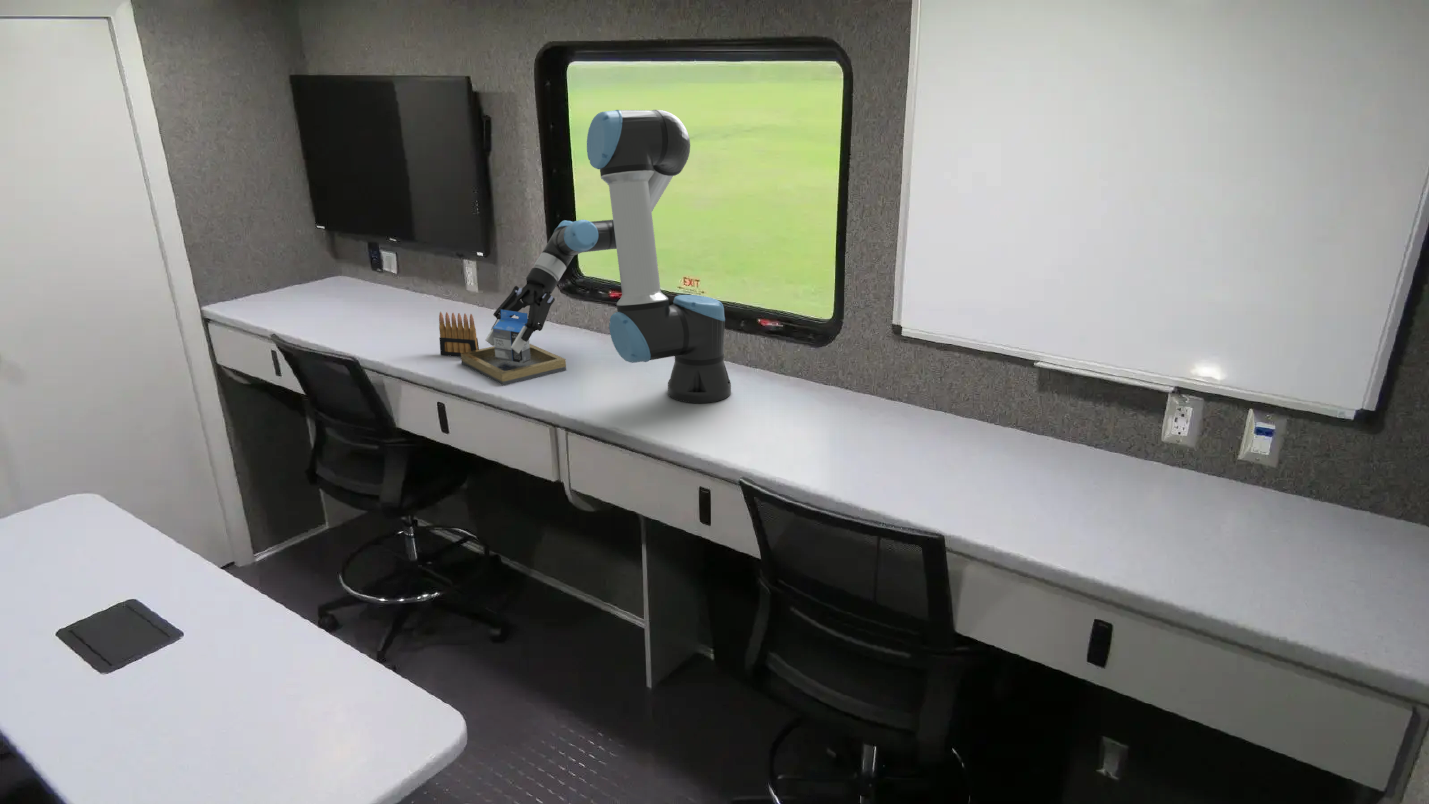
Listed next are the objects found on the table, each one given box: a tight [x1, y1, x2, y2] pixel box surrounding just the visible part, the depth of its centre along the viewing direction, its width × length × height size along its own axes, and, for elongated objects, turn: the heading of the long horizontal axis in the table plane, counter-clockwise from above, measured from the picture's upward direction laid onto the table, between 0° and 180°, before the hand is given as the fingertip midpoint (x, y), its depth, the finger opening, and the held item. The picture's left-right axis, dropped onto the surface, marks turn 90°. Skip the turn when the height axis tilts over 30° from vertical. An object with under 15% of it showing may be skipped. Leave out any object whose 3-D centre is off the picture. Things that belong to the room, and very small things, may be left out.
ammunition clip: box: [438, 311, 480, 358], centre depth 228 cm, size 11×2×12 cm, turn 78°
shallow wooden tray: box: [460, 343, 567, 386], centre depth 220 cm, size 22×18×3 cm
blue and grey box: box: [492, 309, 531, 363], centre depth 218 cm, size 9×4×12 cm, turn 64°
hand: (502, 346), depth 216 cm, fingers closed on blue and grey box, 9 cm apart
